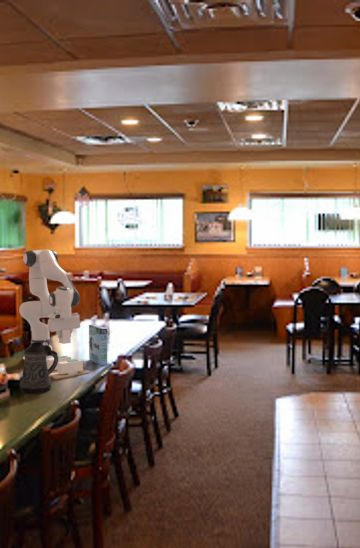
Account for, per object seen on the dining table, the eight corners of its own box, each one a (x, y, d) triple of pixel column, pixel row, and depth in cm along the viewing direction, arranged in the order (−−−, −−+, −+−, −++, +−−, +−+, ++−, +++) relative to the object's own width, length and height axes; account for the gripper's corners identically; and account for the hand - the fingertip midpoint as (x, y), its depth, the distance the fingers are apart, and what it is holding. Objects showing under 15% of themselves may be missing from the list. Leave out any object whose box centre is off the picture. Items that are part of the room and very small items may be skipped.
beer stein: (13, 390, 335) (12, 343, 333) (45, 383, 349) (44, 338, 347) (30, 395, 323) (29, 347, 321) (62, 388, 337) (61, 342, 335)
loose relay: (75, 367, 388) (75, 362, 387) (81, 365, 393) (81, 361, 392) (80, 368, 386) (80, 363, 385) (86, 366, 391) (86, 361, 390)
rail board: (39, 373, 374) (39, 359, 373) (72, 367, 387) (72, 353, 387) (55, 379, 358) (55, 364, 358) (89, 372, 372) (89, 358, 371)
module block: (58, 342, 372) (58, 328, 372) (66, 341, 375) (66, 327, 375) (63, 343, 368) (62, 329, 368) (70, 342, 371) (70, 328, 371)
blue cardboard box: (89, 359, 409) (88, 324, 407) (96, 359, 411) (95, 324, 410) (100, 365, 392) (99, 329, 390) (108, 364, 394) (107, 328, 393)
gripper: (76, 311, 380) (77, 334, 381) (45, 315, 367) (46, 338, 368) (82, 313, 375) (82, 336, 376) (51, 316, 362) (51, 340, 363)
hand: (64, 337), depth 372 cm, fingers closed on module block, 5 cm apart
